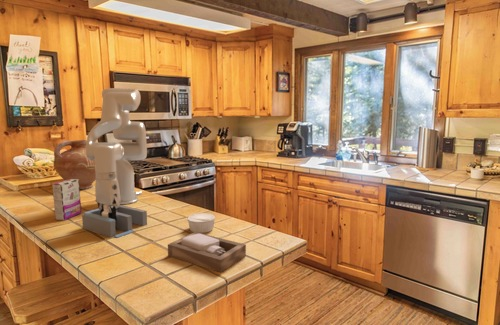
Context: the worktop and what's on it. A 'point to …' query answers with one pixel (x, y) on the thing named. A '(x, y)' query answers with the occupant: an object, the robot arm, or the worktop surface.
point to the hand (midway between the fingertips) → (108, 219)
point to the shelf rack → (108, 225)
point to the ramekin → (201, 222)
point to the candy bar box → (66, 199)
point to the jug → (75, 163)
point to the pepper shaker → (105, 210)
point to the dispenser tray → (209, 254)
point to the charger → (203, 244)
